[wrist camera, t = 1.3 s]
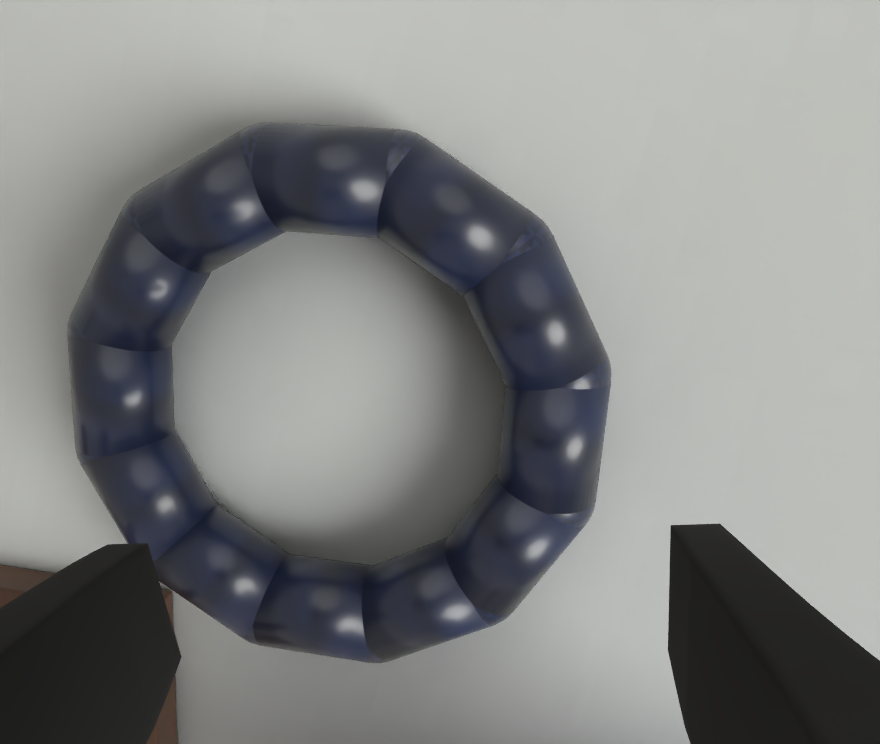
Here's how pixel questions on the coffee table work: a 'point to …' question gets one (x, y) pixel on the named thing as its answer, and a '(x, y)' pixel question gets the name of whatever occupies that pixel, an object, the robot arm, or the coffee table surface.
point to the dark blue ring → (430, 246)
